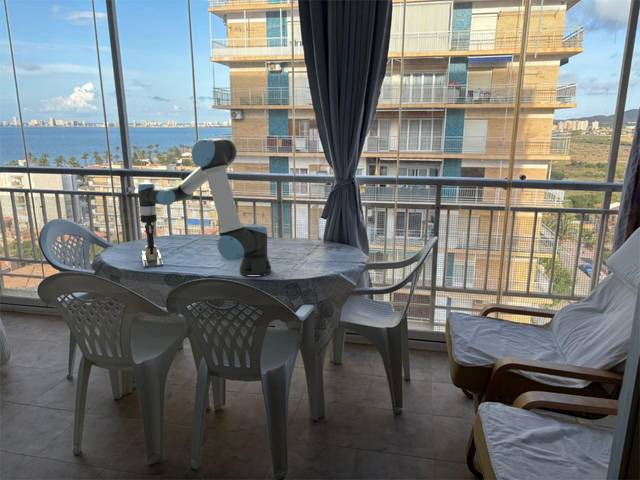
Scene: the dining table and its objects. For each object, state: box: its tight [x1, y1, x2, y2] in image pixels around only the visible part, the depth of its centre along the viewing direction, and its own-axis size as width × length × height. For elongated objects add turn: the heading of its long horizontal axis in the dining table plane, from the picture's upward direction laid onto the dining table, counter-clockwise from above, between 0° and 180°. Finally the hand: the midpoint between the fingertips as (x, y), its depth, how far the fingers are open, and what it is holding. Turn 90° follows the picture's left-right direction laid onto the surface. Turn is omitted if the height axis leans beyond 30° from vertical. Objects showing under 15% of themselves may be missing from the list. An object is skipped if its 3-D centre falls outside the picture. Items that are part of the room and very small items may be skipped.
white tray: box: [141, 249, 164, 269], centre depth 225 cm, size 20×9×4 cm, turn 24°
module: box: [144, 244, 158, 261], centre depth 224 cm, size 4×5×8 cm
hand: (151, 258), depth 225 cm, fingers closed on module, 4 cm apart
